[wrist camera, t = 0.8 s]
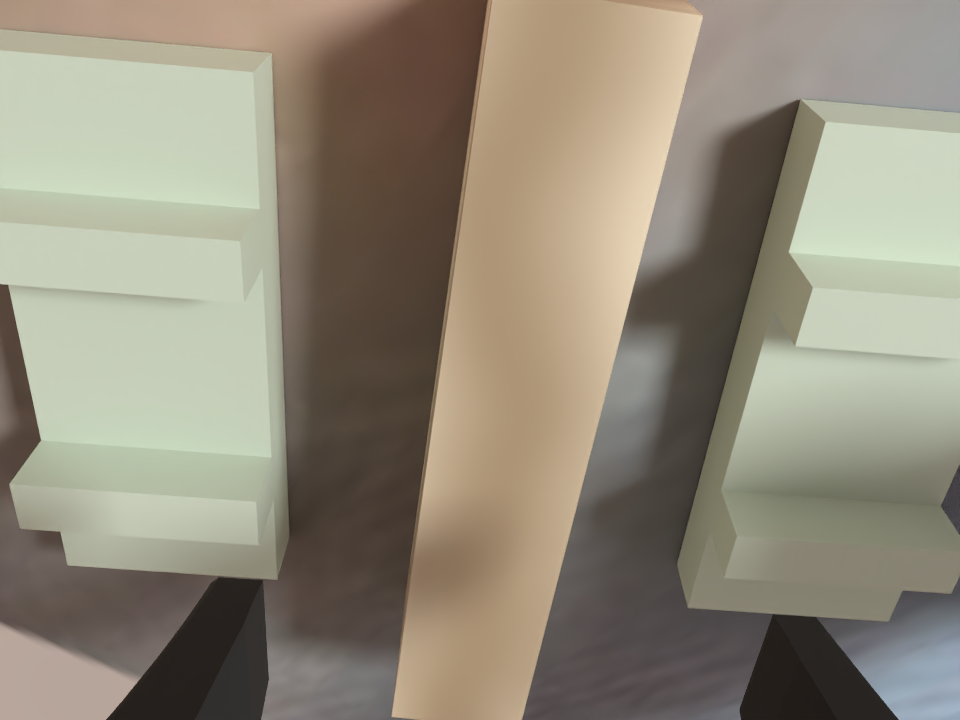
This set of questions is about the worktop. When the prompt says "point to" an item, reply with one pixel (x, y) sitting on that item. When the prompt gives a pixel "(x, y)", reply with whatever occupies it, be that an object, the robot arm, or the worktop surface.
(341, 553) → the worktop surface
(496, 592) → the bar
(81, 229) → the stand
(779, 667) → the robot arm
